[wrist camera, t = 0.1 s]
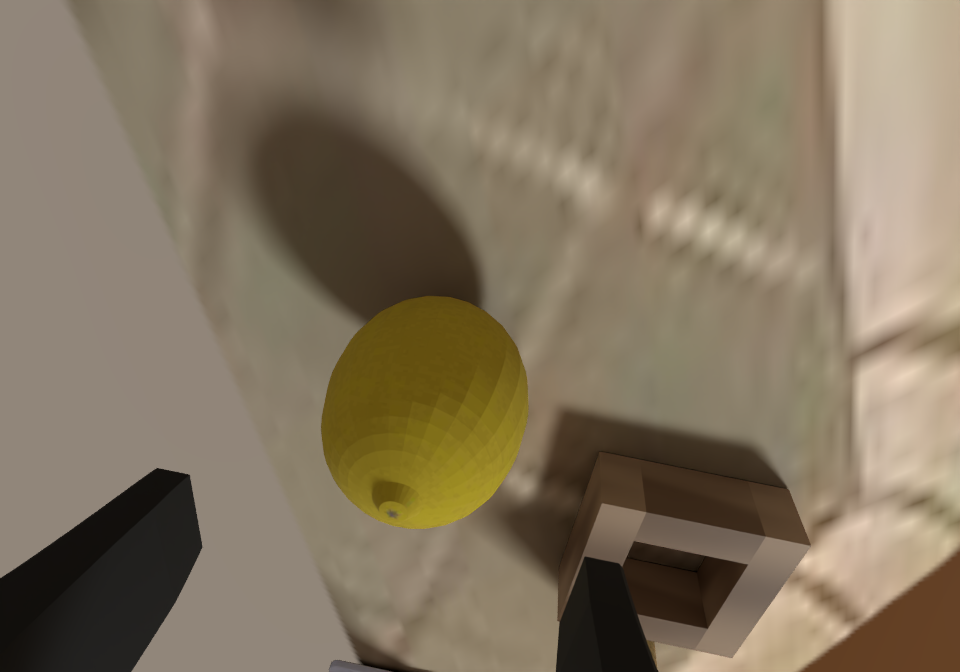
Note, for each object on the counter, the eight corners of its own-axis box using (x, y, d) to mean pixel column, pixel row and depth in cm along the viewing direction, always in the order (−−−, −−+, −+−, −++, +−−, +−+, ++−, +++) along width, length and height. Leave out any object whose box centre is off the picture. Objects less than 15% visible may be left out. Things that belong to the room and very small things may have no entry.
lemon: (341, 294, 20) (224, 465, 13) (484, 224, 18) (431, 384, 11) (428, 412, 22) (365, 609, 16) (564, 362, 20) (558, 563, 14)
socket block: (719, 601, 26) (732, 658, 24) (558, 567, 26) (557, 620, 24) (788, 489, 22) (811, 545, 20) (599, 451, 22) (601, 503, 20)
